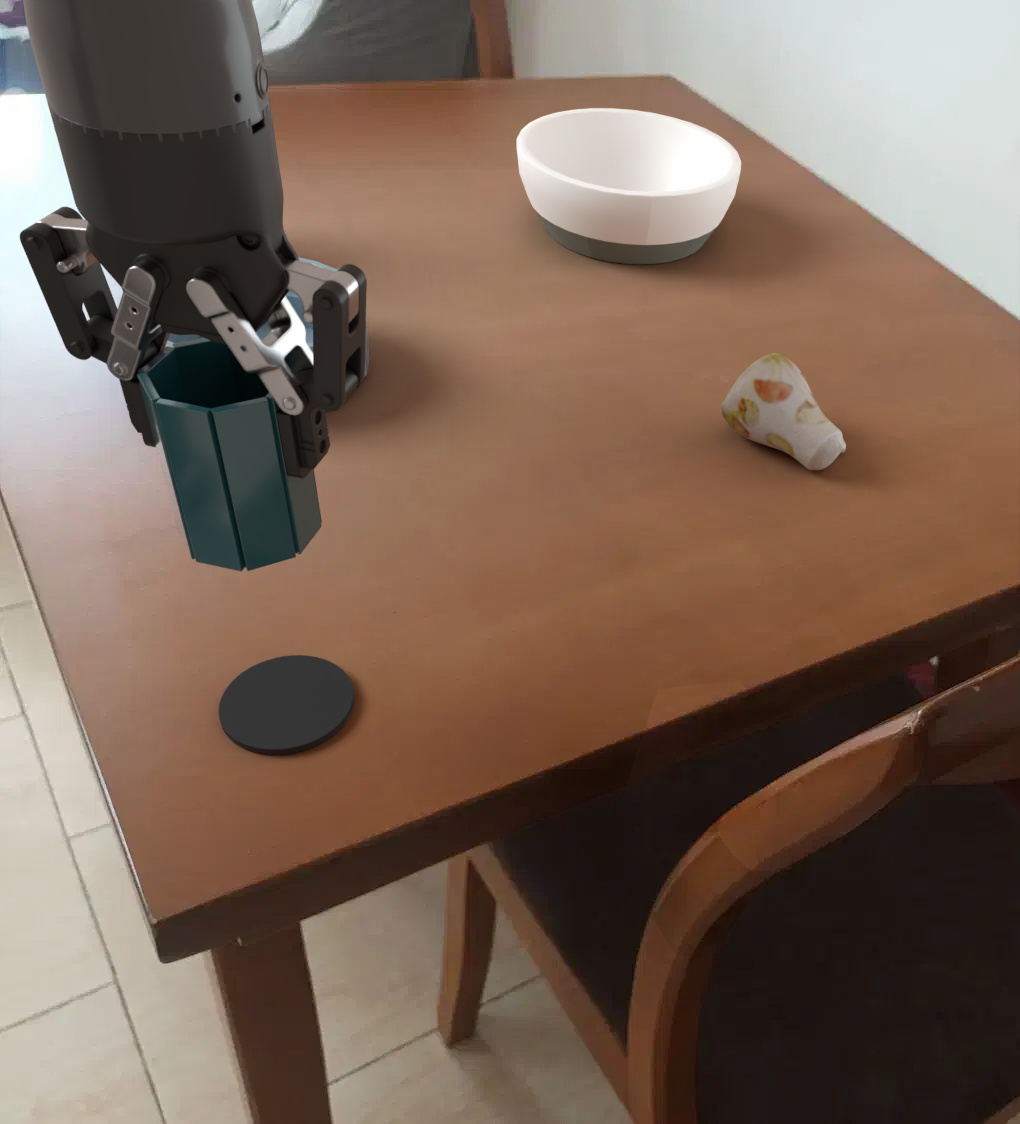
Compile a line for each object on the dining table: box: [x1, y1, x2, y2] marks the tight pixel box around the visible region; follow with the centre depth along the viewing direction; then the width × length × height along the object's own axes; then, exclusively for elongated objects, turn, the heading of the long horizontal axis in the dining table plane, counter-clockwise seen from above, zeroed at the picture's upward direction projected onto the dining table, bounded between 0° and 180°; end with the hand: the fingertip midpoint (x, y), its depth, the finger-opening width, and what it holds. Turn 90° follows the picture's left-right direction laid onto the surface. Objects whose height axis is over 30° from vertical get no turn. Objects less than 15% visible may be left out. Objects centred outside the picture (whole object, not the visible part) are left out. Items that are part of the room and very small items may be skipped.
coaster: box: [218, 654, 355, 756], centre depth 64 cm, size 7×7×1 cm
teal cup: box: [137, 338, 323, 572], centre depth 53 cm, size 6×6×9 cm
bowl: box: [515, 107, 742, 265], centre depth 115 cm, size 22×22×8 cm
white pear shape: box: [720, 352, 847, 471], centre depth 89 cm, size 8×10×10 cm
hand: (235, 452), depth 52 cm, fingers closed on teal cup, 6 cm apart
